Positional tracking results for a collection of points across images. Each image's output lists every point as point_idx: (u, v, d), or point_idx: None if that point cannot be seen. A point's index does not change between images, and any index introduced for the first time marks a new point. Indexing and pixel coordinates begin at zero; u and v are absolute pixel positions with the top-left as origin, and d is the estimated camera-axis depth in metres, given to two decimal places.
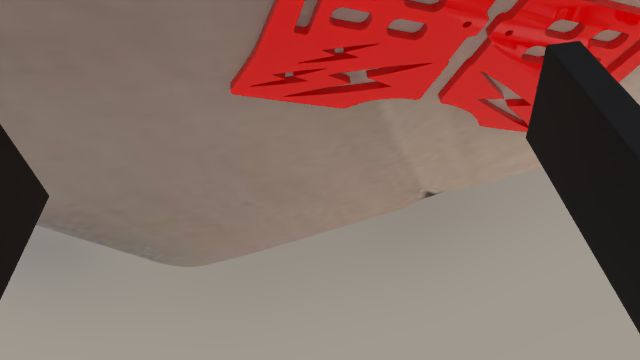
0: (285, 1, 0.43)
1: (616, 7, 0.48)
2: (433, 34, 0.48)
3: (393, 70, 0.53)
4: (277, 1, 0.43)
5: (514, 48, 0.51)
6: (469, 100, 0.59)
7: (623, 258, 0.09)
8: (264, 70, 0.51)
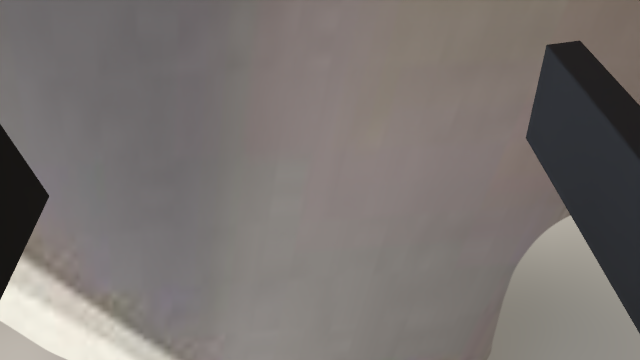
0: None
1: None
2: None
3: None
4: None
5: None
6: None
7: (623, 258, 0.09)
8: None
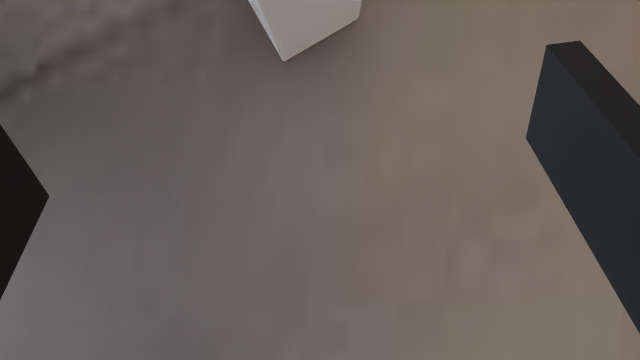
0: None
1: None
2: None
3: None
4: None
5: None
6: None
7: (623, 258, 0.09)
8: None
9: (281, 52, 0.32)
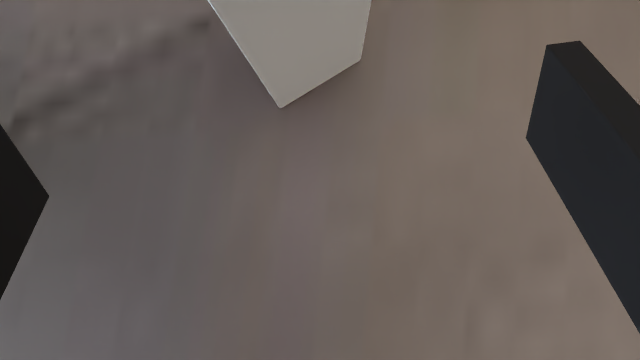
0: None
1: None
2: None
3: None
4: None
5: None
6: None
7: (623, 258, 0.09)
8: None
9: (276, 100, 0.29)
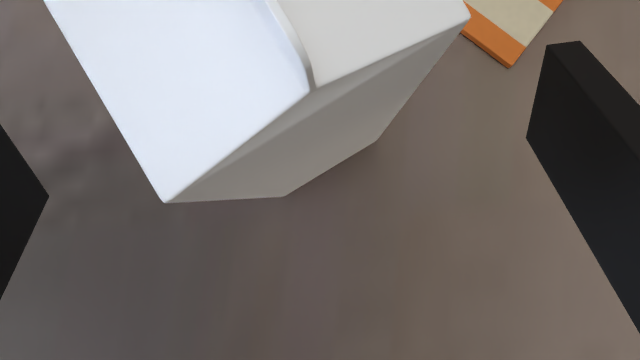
0: None
1: None
2: None
3: None
4: None
5: None
6: None
7: (623, 258, 0.09)
8: None
9: (279, 196, 0.24)
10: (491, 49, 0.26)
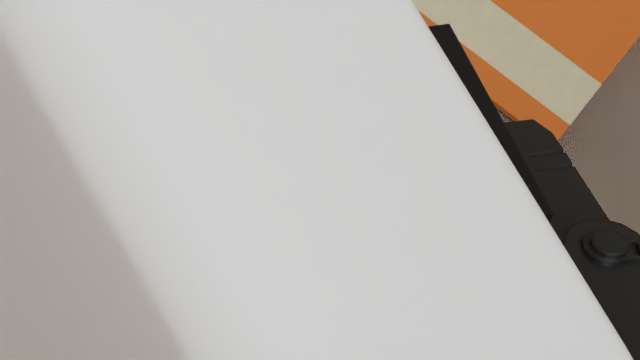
0: None
1: None
2: None
3: None
4: None
5: None
6: None
7: None
8: None
9: None
10: None
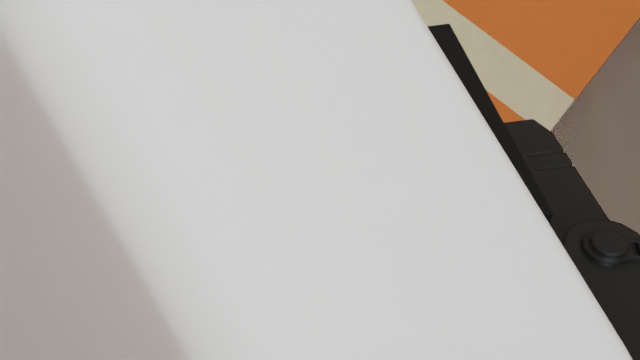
0: None
1: None
2: None
3: None
4: None
5: None
6: None
7: None
8: None
9: None
10: None
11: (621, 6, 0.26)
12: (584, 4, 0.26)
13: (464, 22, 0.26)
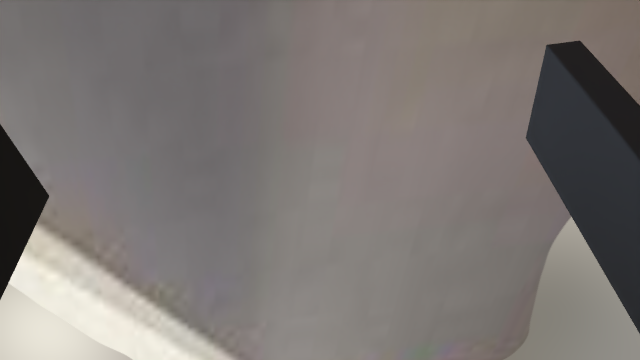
0: None
1: None
2: None
3: None
4: None
5: None
6: None
7: (623, 258, 0.09)
8: None
9: None
10: None
11: None
12: None
13: None
